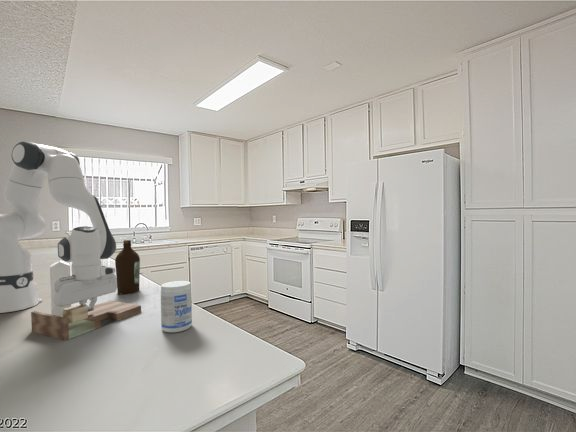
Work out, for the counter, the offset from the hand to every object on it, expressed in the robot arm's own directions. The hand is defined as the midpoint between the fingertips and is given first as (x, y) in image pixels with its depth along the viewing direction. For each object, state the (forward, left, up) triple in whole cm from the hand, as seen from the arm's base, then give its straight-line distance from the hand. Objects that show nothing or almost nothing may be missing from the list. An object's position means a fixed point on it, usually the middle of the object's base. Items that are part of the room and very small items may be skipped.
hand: (88, 311), depth 106 cm
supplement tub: (+34, +7, -4) cm, 35 cm away
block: (0, -5, -1) cm, 5 cm away
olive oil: (-22, +33, -4) cm, 40 cm away
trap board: (0, +1, -4) cm, 4 cm away
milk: (-18, +1, -4) cm, 19 cm away
